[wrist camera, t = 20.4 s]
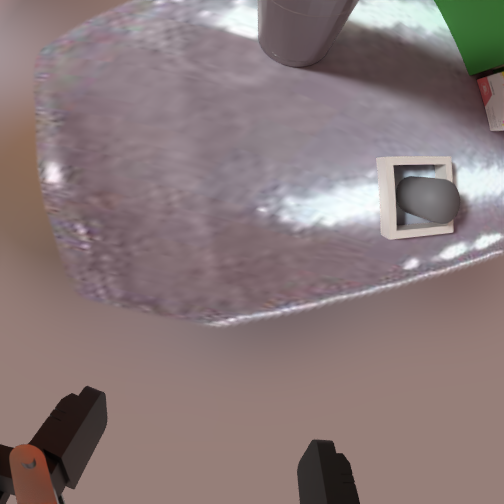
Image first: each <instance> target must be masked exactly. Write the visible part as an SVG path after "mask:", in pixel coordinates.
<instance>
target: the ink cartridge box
mask: <svg viewBox="0 0 504 504" xmlns="http://www.w3.org/2000/svg"><path fill="white" fill-rule="evenodd" d="M477 82H478V85H479V89H480V92H481V95H482V99H483V102H484V106H485V110H486V114H487V118H488V122H489V127H490V130H491V131H504V72H500V73H497V74H493V75H490V76H487V77H483V78H480V79H477Z"/></svg>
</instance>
